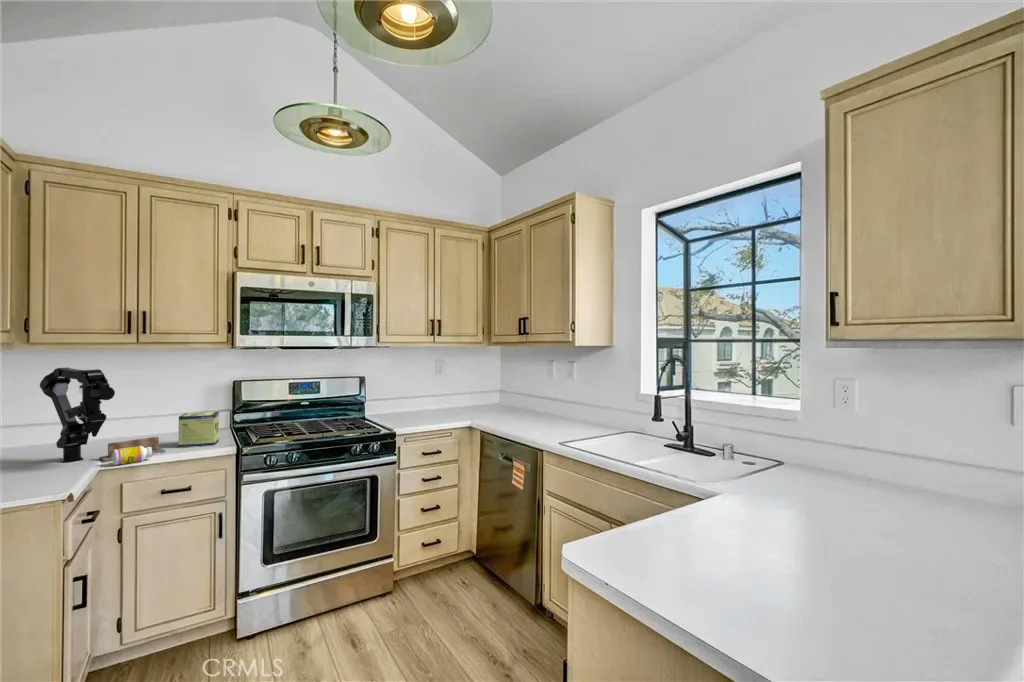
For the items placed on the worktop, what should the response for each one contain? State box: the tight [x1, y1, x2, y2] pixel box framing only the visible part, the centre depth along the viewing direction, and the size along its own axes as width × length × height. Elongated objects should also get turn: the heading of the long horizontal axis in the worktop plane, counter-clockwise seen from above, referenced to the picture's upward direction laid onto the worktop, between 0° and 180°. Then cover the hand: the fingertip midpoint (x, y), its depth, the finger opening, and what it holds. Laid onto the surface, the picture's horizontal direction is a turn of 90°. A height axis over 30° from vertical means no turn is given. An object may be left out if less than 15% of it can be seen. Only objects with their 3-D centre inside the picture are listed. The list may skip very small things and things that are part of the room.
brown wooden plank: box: [107, 436, 160, 458], centre depth 215 cm, size 18×2×6 cm, turn 142°
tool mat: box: [99, 447, 166, 463], centre depth 215 cm, size 8×22×1 cm, turn 142°
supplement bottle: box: [111, 446, 153, 466], centre depth 204 cm, size 7×7×13 cm
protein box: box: [177, 411, 220, 448], centre depth 237 cm, size 10×16×16 cm
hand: (91, 435), depth 202 cm, fingers open, 9 cm apart
